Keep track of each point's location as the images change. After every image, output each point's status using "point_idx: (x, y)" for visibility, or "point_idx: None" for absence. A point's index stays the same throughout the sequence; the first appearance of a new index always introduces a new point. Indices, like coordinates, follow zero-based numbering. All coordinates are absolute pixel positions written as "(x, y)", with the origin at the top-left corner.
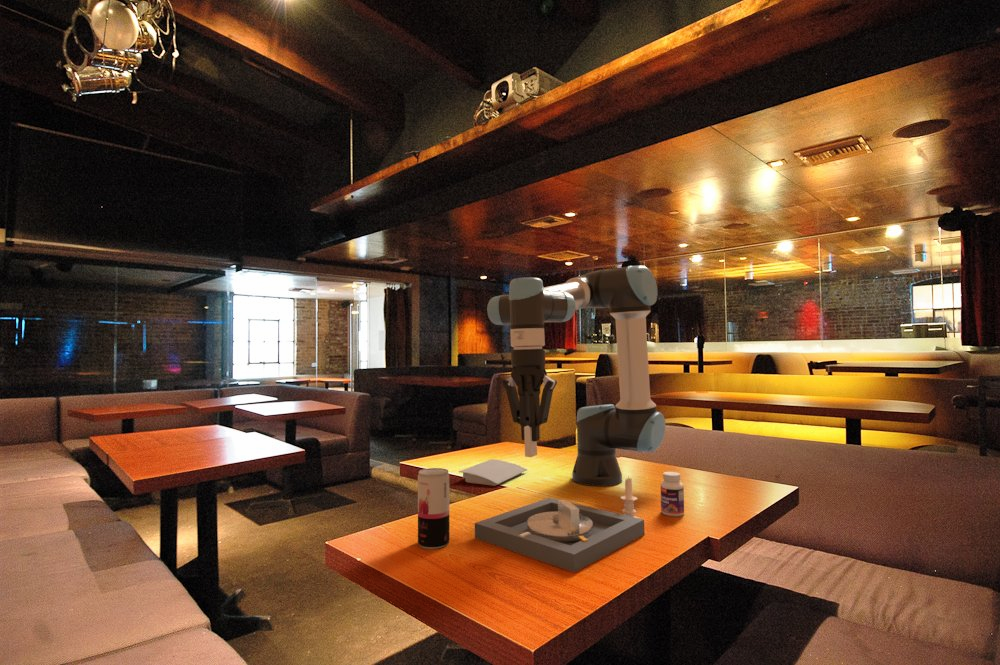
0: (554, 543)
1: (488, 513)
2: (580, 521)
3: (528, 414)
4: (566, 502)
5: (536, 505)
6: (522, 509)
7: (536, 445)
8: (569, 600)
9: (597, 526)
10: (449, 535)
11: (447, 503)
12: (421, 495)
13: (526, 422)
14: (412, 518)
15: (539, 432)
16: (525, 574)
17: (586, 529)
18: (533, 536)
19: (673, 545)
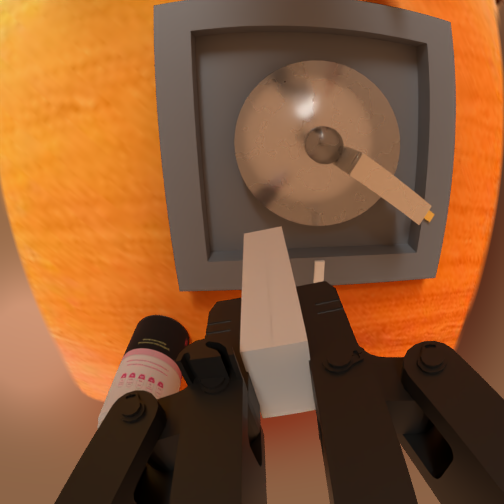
0: (389, 264)
1: (76, 149)
2: (362, 111)
3: (250, 465)
4: (381, 179)
5: (178, 82)
6: (176, 138)
7: (287, 253)
8: (441, 322)
9: (360, 55)
10: (175, 327)
11: (172, 381)
12: None
13: (257, 422)
14: (32, 282)
15: (345, 314)
16: (366, 315)
17: (399, 150)
18: (336, 264)
19: (486, 58)
